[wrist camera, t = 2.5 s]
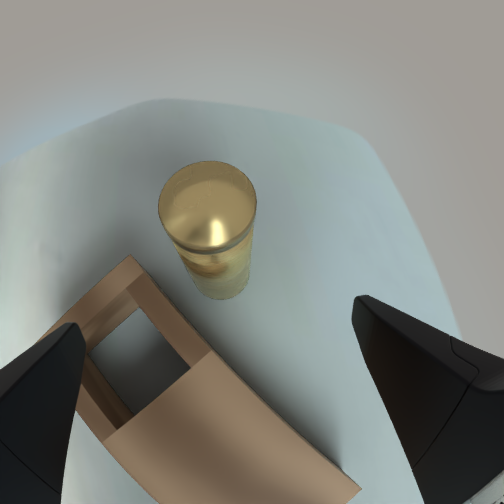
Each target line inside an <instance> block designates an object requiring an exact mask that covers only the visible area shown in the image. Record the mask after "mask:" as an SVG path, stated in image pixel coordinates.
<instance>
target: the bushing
mask: <svg viewBox="0 0 504 504" xmlns="http://www.w3.org/2000/svg"><path fill="white" fill-rule="evenodd" d="M256 204H257V200H256V193H255V190H254V187H253V185H252V183H251V181H250V180H249V179H248V177H247V176H246V175H245V174H244V173H242V172H241V171H240V170H239V169H237V168H235V167H234V166H231V165H229V164H226V163H223V162H217V161H203V162H198V163H194V164H191V165H188V166H186V167H184V168H182V169H181V170H179V171H178V172H176V173H175V174H174V175H173V176H172V177H171V178H170V179H169V180H168V182H167V183H166V184H165V186H164V188H163V190H162V192H161V194H160V198H159V203H158V212H159V217H160V220H161V223H162V225H163V227H164V229H165V231H166V232H167V234H168V236H169V237H170V239H171V240H172V242H173V244H174V245H175V247H176V249H177V251H178V253H179V255H180V257H181V259H182V261H183V262H184V264H185V266H186V268H187V270H188V272H189V274H190V275H191V277H192V279H193V281H194V283H195V284H196V286H197V288H198V289H199V290H200V291H201V292H202V293H203V294H204V295H206V296H208V297H210V298H212V299H218V300H224V299H229V298H232V297H234V296H236V295H237V294H239V293H240V292H241V291H242V290H243V289H244V287H245V286H246V284H247V282H248V279H249V273H250V261H251V249H252V237H253V225H254V220H255V215H256Z"/></svg>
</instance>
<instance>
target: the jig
mask: <svg viewBox="0 0 504 504" xmlns="http://www.w3.org/2000/svg"><path fill="white" fill-rule="evenodd" d="M139 307H140V308H141V309H142V310H143V312H144V313H145V314H146V315H147V317H148V318H149V319H150V320H151V322H152V323H153V324H154V325H155V327H156V328H157V329H158V330H159V331H160V333H161V334H162V335H163V336H164V337H165V339H166V340H167V341H168V342H169V343H170V345H171V346H172V347H173V348H174V349H175V350H176V351H177V353H178V354H179V355H180V356H181V357H182V358H183V359H184V361H185V362H186V363H187V364H188V365H189V366H190V367H191V369H190V370H188V371H187V372H186V373H185V374H184V375H183V376H181V377H180V378H179V379H178V380H177V381H176V382H175V383H173V384H172V385H171V386H170V387H169V388H168V389H166V390H165V391H164V392H163V393H162V394H160V395H159V396H158V397H157V398H156V399H155V400H153V401H152V402H151V403H150V404H149V405H147V406H146V407H145V408H144V409H143V410H141V411H140V412H139V413H138V414H137V415H135V416H134V414H133V413H132V412H131V411H130V410H129V408H128V407H127V406H126V405H125V404H124V402H123V401H122V400H121V399H120V397H119V396H118V395H117V394H116V392H115V391H114V390H113V389H112V387H111V386H110V385H109V383H108V382H107V381H106V379H105V378H104V377H103V375H102V374H101V373H100V371H99V370H98V368H97V367H96V366H95V364H94V363H93V361H92V360H91V358H90V357H89V356H88V353H89V352H90V351H91V350H92V349H93V348H94V347H95V346H96V345H98V344H99V343H100V342H101V341H102V340H103V339H104V338H105V337H106V336H107V335H109V334H110V333H111V332H112V331H113V330H114V329H115V328H116V327H117V326H118V325H120V324H121V323H122V322H123V321H124V320H125V319H126V318H127V317H129V316H130V315H131V314H132V313H133V312H134V311H135V310H136V309H137V308H139ZM66 322H76V323H77V324H78V325H79V327H80V330H81V332H82V334H83V337H84V339H85V341H86V353H85V360H84V366H83V373H82V380H81V386H80V391H79V395H78V400H77V404H76V408H75V410H76V411H77V412H78V414H79V415H80V416H81V418H82V419H83V420H84V422H85V423H86V424H87V426H88V427H89V428H90V430H91V431H92V432H93V433H94V435H95V436H96V437H97V438H98V440H99V441H100V442H101V443H102V444H103V446H104V447H105V448H106V449H107V450H108V452H109V453H110V454H111V455H112V456H113V457H114V458H115V460H116V461H117V462H118V463H119V464H120V465H121V466H122V467H123V468H124V469H125V471H126V472H127V473H128V474H129V475H130V476H131V477H132V478H133V479H134V480H135V481H136V482H137V483H138V484H139V485H140V486H141V487H142V488H143V489H144V490H145V491H146V492H147V493H148V494H149V495H150V496H151V497H152V498H153V499H155V500H156V501H157V502H158V503H159V504H346V503H347V502H348V501H350V500H351V499H352V498H353V497H354V496H355V495H356V494H357V493H358V492H359V491H360V490H361V489H362V488H361V487H360V486H358V485H357V484H356V483H355V482H354V481H353V480H352V479H351V478H350V477H349V476H348V475H347V474H346V473H345V472H343V471H342V470H341V469H340V468H339V467H337V466H336V465H335V464H334V463H333V462H331V461H330V460H329V459H328V458H327V457H326V456H324V455H323V454H322V453H321V452H320V451H318V450H317V449H316V448H315V447H314V446H313V445H312V444H310V443H309V442H308V441H307V440H306V439H305V438H304V437H303V436H301V435H300V434H299V433H298V432H297V431H296V430H295V429H294V428H293V427H291V426H290V425H289V424H288V423H287V422H286V421H285V420H284V419H283V418H282V417H281V416H280V415H279V414H277V413H276V412H275V411H274V410H273V409H272V408H271V407H270V406H269V405H268V404H267V403H266V402H265V401H264V400H263V399H262V398H261V397H260V396H259V395H258V394H257V393H256V392H255V391H254V390H253V389H252V388H251V387H250V386H249V385H248V384H247V383H246V382H245V381H244V380H243V379H242V378H241V377H240V376H239V375H238V374H237V373H236V372H235V371H234V370H233V369H232V368H231V367H230V366H229V365H228V364H227V363H226V362H225V361H224V360H223V359H222V358H221V356H220V355H219V354H218V353H217V352H216V351H215V350H214V349H213V348H212V347H211V346H210V345H209V344H208V342H207V341H206V340H205V339H204V338H203V337H202V336H201V335H200V334H199V333H198V331H197V330H196V329H195V328H194V327H193V326H192V325H191V324H190V322H189V321H188V320H187V319H186V318H185V317H184V316H183V314H182V313H181V312H180V311H179V310H178V309H177V308H176V306H175V305H174V304H173V303H172V302H171V300H170V299H169V298H168V297H167V296H166V295H165V293H164V292H163V291H162V290H161V289H160V287H159V286H158V285H157V284H156V282H155V281H154V280H153V279H152V278H151V276H150V275H149V274H148V273H147V272H146V271H145V270H144V268H143V267H142V266H141V265H140V264H139V263H138V262H137V261H136V260H135V259H134V258H133V257H132V256H131V254H130V255H129V256H128V257H126V258H125V259H124V260H123V261H122V262H121V263H120V264H118V265H117V266H116V267H115V268H114V269H113V270H112V271H110V272H109V273H108V274H107V275H106V276H105V277H104V278H103V279H102V280H100V281H99V282H98V283H97V284H96V285H95V286H94V287H93V288H92V289H91V290H90V291H88V292H87V293H86V294H85V295H84V296H83V297H82V298H81V299H80V300H79V301H78V302H77V303H76V304H75V305H74V306H73V307H71V308H70V309H69V310H68V311H67V312H66V313H65V314H64V315H63V316H62V317H61V318H60V319H59V320H58V321H57V322H56V323H55V324H54V325H53V326H52V327H51V328H50V329H49V330H48V331H47V332H46V333H45V334H44V335H43V336H42V337H41V338H40V339H39V340H38V341H37V342H39V341H40V340H41V339H43V338H44V337H46V336H47V335H48V334H50V333H51V332H53V331H54V330H55V329H57V328H58V327H60V326H61V325H63V324H64V323H66ZM37 342H36V343H37ZM36 343H35V344H36Z"/></svg>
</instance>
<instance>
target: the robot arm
mask: <svg viewBox="0 0 504 504" xmlns="http://www.w3.org/2000/svg"><path fill="white" fill-rule="evenodd" d="M352 325H353V328H354V331H355V334H356V337H357V340H358V343H359V346H360V349H361V352H362V355H363V358H364V360H365V363H366V365H367V368H368V370H369V372H370V374H371V376H372V378H373V381H374V383H375V385H376V387H377V389H378V392H379V394H380V396H381V398H382V400H383V403H384V405H385V407H386V410H387V412H388V414H389V416H390V419H391V421H392V423H393V426H394V428H395V430H396V433H397V435H398V437H399V440H400V442H401V445H402V447H403V449H404V452H405V454H406V457H407V459H408V462H409V464H410V467H411V469H412V472H413V475H414V477H415V480H416V482H417V485H418V487H419V490H420V493H421V495H422V498H423V501H424V503H425V504H504V359H503V358H500V357H498V356H495V355H493V354H490V353H488V352H485V351H483V350H481V349H478V348H476V347H474V346H471V345H469V344H467V343H465V342H463V341H461V340H459V339H457V338H455V337H453V336H449V334H447V333H444V332H442V331H440V330H438V329H436V328H434V327H432V326H430V325H428V324H426V323H424V322H422V321H420V320H418V319H416V318H414V317H412V316H410V315H408V314H406V313H404V312H402V311H400V310H398V309H396V308H394V307H392V306H389V305H387V304H385V303H383V302H381V301H379V300H377V299H375V298H373V297H371V296H369V295H361V296H356V297H355V299H354V303H353V311H352ZM85 353H86V341H85V339H84V337H83V334H82V332H81V330H80V327H79V325H78V324H77V323H76V322H66V323H64V324H63V325H61V326H60V327H58V328H57V329H55V330H54V331H53V332H51V333H50V334H48V335H47V336H46V337H44V338H43V339H41V340H40V341H39V342H37V343H36V344H34V345H33V346H32V347H30V348H29V349H28V350H26V351H25V352H24V353H22V354H21V355H19V356H18V357H17V358H15V359H14V360H13V361H11V362H10V363H9V364H7V365H6V366H5V367H3V368H2V369H1V370H0V504H61V494H62V485H63V477H64V470H65V463H66V456H67V450H68V444H69V439H70V433H71V428H72V423H73V418H74V413H75V408H76V404H77V400H78V395H79V391H80V386H81V380H82V373H83V366H84V360H85Z"/></svg>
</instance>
